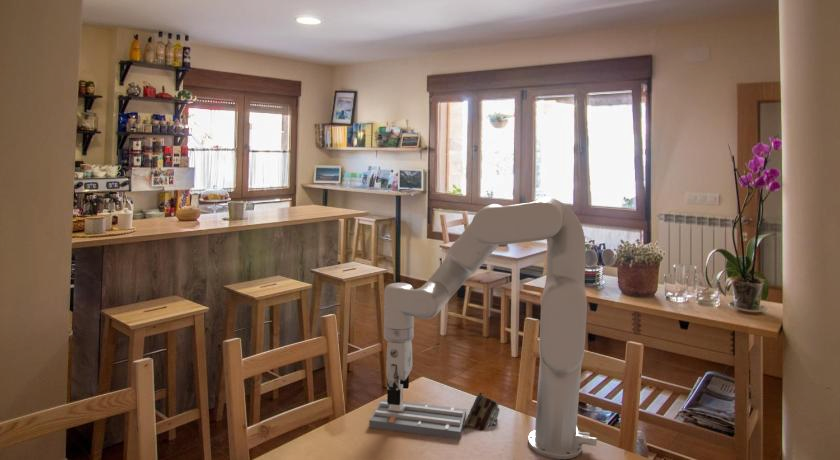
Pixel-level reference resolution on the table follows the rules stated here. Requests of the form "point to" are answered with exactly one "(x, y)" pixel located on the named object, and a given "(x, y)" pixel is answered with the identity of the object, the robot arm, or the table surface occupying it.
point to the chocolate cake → (482, 413)
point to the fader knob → (400, 407)
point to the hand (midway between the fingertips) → (398, 395)
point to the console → (420, 419)
